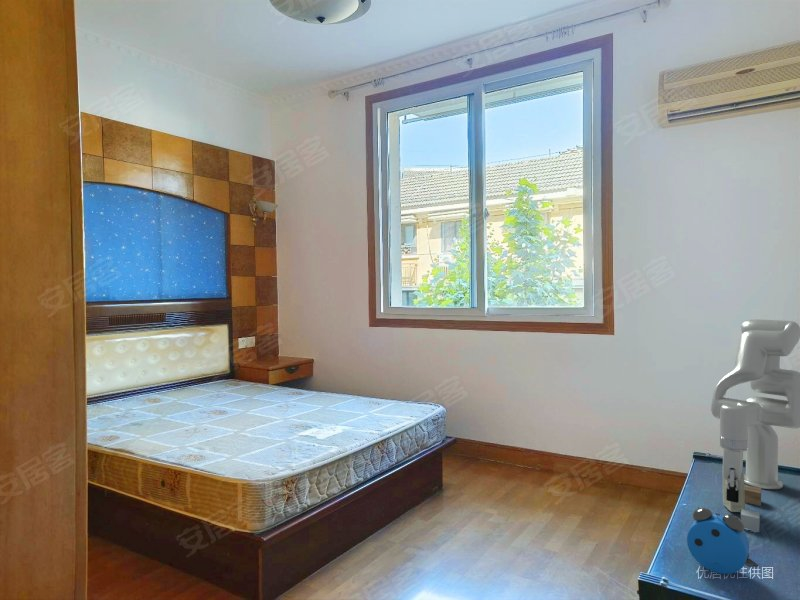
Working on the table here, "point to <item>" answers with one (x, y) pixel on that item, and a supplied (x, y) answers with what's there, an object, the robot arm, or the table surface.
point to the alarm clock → (718, 541)
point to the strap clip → (750, 562)
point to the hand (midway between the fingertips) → (733, 496)
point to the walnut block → (752, 495)
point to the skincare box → (741, 504)
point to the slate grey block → (750, 519)
